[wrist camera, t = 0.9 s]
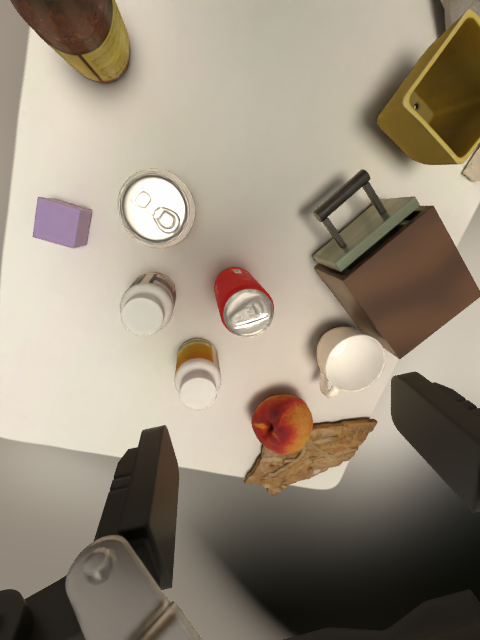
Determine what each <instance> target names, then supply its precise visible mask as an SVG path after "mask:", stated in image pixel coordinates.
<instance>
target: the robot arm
mask: <svg viewBox="0 0 480 640" xmlns="http://www.w3.org/2000/svg"><path fill="white" fill-rule="evenodd" d="M391 416H392V420H393V422H394V425H395V426H396V428H397V430H398V431H399V432H400V433H401V434H402V435H403V436H404V437H405V439H406V440H407V441H408V442H409V443H410V444H411V445H412V446H413V447H414V448H415V449H416V450H417V452H418V453H419V454H420V455H421V456H422V457H423V458H424V459H425V460H426V461H427V463H428V464H429V465H430V466H431V467H432V468H433V469H434V470H435V471H436V472H437V473H438V475H439V476H440V477H441V478H442V479H443V480H444V481H445V482H446V483H447V484H448V485H449V487H450V488H451V489H452V490H453V491H454V492H455V493H456V494H457V495H458V496H459V497H460V499H461V500H462V501H463V502H464V503H465V504H466V505H467V506H468V507H469V508H470V510H471V511H472V512H479V511H480V408H477V407H476V406H475V405H474V404H473V403H471V402H470V401H468V400H467V401H466V399H465V398H464V397H462V396H461V395H460V394H458V393H457V392H456V391H454V390H453V389H450V388H448V387H445V386H443V385H440V384H438V383H435V382H434V383H432V382H430V381H429V380H427V379H426V378H425V377H423V376H422V375H420V374H419V373H417V372H410V373H406V374H401V375H397V376H393V377H392V380H391ZM178 487H179V470H178V463H177V459H176V456H175V452H174V449H173V446H172V442H171V439H170V436H169V432H168V429H167V427H166V426H165V425H164V426H159V427H154V428H150V429H145V430H143V431H142V433H141V437H140V441H139V445H138V447H137V448H132V449H128V450H127V452H126V453H125V454H124V456H123V457H122V458H121V460H120V461H119V462H118V465H117V468H116V471H115V475H114V480H113V481H112V484H111V487H110V492H109V494H108V497H107V500H106V503H105V507H104V510H103V513H102V517H101V520H100V523H99V526H98V529H97V533H96V536H95V539H94V542H93V543H91V544H90V545H89V546H87V547H86V548H85V549H84V550H83V551H82V552H81V553H80V554H79V555H78V557H77V558H76V559H75V560H74V562H73V564H72V565H71V567H70V569H69V572H68V574H67V575H66V576H65V577H63V578H62V579H60V580H59V581H57V582H55V583H53V584H51V585H50V586H48V587H46V588H44V589H43V590H41V591H39V592H37V593H35V594H33V595H32V596H30V597H28V598H26V599H24V598H23V597H22V595H21V594H20V593H19V592H18V591H16V590H12V589H8V590H2V591H0V640H202V638H201V637H200V635H199V634H198V632H197V631H196V630H195V628H194V627H193V625H192V624H191V623H190V621H189V620H188V618H187V617H186V616H185V614H184V613H183V611H182V610H181V609H180V608H179V606H178V605H177V604H176V603H175V602H172V603H171V602H170V601H169V600H168V599H167V598H166V596H165V595H164V593H163V592H162V590H164V589H167V588H172V579H173V564H174V549H175V531H176V517H177V503H178ZM284 640H480V603H479V601H478V600H477V598H476V597H475V596H474V594H473V593H472V591H471V590H466V591H462V592H458V593H455V594H451V595H447V596H443V597H440V598H436V599H433V600H429V601H425V602H424V603H422V604H421V605H420V606H418V607H417V608H416V609H414V610H413V611H412V612H410V613H409V614H408V615H406V616H405V617H404V618H402V619H401V620H400V621H398V622H397V623H396V624H394V625H393V626H392V627H390V628H389V629H387V630H384V631H373V630H358V629H344V628H325V629H321V630H318V631H314V632H310V633H307V634H303V635H299V636H296V637H292V638H288V639H284Z"/></svg>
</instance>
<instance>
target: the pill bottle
mask: <svg viewBox="0 0 480 640" xmlns="http://www.w3.org/2000/svg"><path fill="white" fill-rule="evenodd" d="M175 299H176V291H175V287H174V285H173V283H172V282H171V281H170V280H169V279H168V278H167V277H166V276H164V275H162V274H159V273H147V274H144V275H142V276H140V277H139V278H138V279H137V280H136V281H135V282H134V283H133V284H132V286H131V287H130V288H129V289H128V290H127V291H126V292H125V293H124V295H123V297H122V299H121V302H120V312H121V319H122V323H123V325H124V327H125V328H126V329H127V330H128V331H129V332H131V333H132V334H134V335H137V336H149V335H152V334H154V333H156V332H157V331H158V330H160V329H162V328H163V327H164V326H166V325H167V323H168V322H169V320H170V319H171V316H172V313H173V308H174V304H175Z"/></svg>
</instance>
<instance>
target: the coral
mask: <svg viewBox="0 0 480 640" xmlns="http://www.w3.org/2000/svg"><path fill="white" fill-rule="evenodd" d="M440 1H441V3H442V5H443V7H444V9H445V25H446V30H447V29H448V28H449V27H450V26H451V25H452V24H453V23H454V22H455V21H456V20H457V19H458V18H460V17H461V16H462V15H463V14H464V13H465V12H466V11H467V10H468V9H471V10H472V11H474V12H475V13H476V14H477V15H478V16H479V18H480V0H440Z"/></svg>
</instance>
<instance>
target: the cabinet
mask: <svg viewBox="0 0 480 640" xmlns="http://www.w3.org/2000/svg"><path fill="white" fill-rule="evenodd" d="M403 220H411V221H410V222H408V223H407V224H406V225H405V226H404V227H402V228H401V229H400V230H399V231H398V232H396V233H395V234H394V235H393V236H392V237H390V238H389V239H388V240H387V241H386V242H384V243H383V244H382V245H381V246H380V247H378V248H377V249H376V250H375V251H374V252H372V253H371V254H370V255H369V256H368V257H366V258H365V259H364V260H363V261H362V262H360V263H359V264H358V265H357V266H356V267H354V268H353V269H352V270H351V271H350V272H348V273H347V274H346V275H344V274H342V273H339V272H337V271H334V270H332V269H330V268H329V267H327V266H325V265H322V264H320V263H319V264H318V265H317V266H316V267H315V268H314V269H315V270H316V271H317V273H318V274H319V275H320V277H321V278H322V279H323V281H324V282H325V283H326V285H327V286H328V287H329V289H330V290H331V291H332V293H333V294H334V295H335V297H336V298H337V299H338V301H339V302H340V303H341V304H342V306H343V307H344V308H345V310H346V311H347V312H348V314H349V315H350V316H351V318H352V319H353V320H354V322H355V323H356V324H357V326H358V327H359V328H360V330H362V331H364V332H366V333H367V334H369V335H371V336H372V337H373V338H375V339H376V340H377V341H379V342H380V344H381V345H382V347H383V348H385V349H386V350H387V351H389V352H390V353H392V354H393V355H394V356H396V357H397V358H399V359H401V358H402V357H403V356H405V355H406V354H407V353H409V352H410V351H411V350H412V349H414V348H415V347H416V346H418V345H419V344H420V343H421V342H423V341H424V340H425V339H427V338H428V337H429V336H430V335H432V334H433V333H434V332H435V331H437V330H438V329H439V328H441V327H442V326H443V325H445V324H446V323H447V322H448V321H450V320H451V319H452V318H453V317H455V316H456V315H457V314H459V313H460V312H461V311H462V310H464V309H465V308H466V307H468V306H469V305H470V304H471V303H473V302H474V301H475V300H477V299H478V298H479V297H480V290H479V289H478V287H477V285H476V283H475V281H474V279H473V278H472V276H471V274H470V272H469V270H468V268H467V267H466V265H465V263H464V261H463V259H462V257H461V256H460V254H459V252H458V250H457V248H456V246H455V244H454V243H453V241H452V239H451V237H450V235H449V233H448V232H447V230H446V228H445V226H444V224H443V222H442V221H441V219H440V217H439V215H438V213H437V211H436V210H435V208H434V206H419V207H418V208H417V209H415V210H414V211H413V212H412V213H411V214H409V215H408V216H407V217H406V218H405V219H403Z"/></svg>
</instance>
